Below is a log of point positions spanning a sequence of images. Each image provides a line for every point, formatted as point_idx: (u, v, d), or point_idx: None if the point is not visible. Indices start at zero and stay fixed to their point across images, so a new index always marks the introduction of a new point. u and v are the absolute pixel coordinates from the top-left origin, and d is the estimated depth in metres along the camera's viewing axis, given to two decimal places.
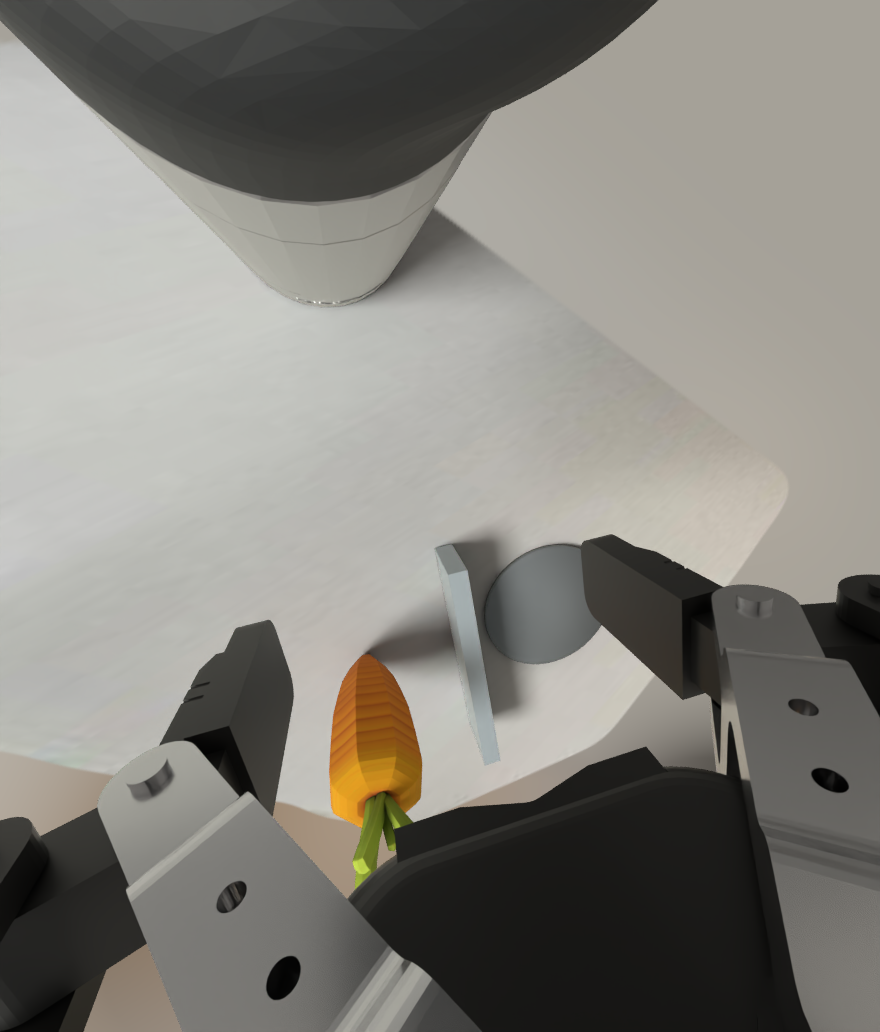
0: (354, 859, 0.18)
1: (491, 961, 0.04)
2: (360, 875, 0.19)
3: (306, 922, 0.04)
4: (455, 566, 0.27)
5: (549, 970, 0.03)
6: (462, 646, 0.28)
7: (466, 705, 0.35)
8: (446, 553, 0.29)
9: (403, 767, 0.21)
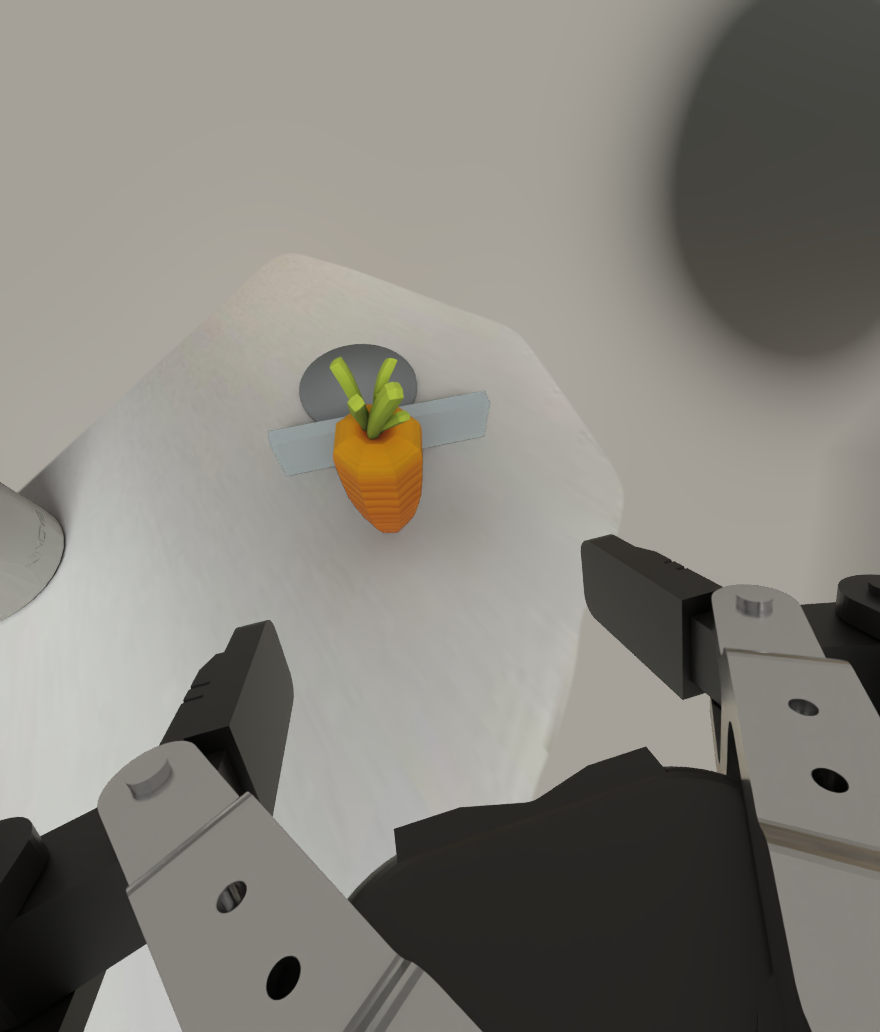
0: (356, 411, 0.19)
1: (491, 961, 0.04)
2: (378, 406, 0.19)
3: (306, 922, 0.04)
4: None
5: (550, 971, 0.03)
6: None
7: (459, 439, 0.36)
8: None
9: (346, 416, 0.23)
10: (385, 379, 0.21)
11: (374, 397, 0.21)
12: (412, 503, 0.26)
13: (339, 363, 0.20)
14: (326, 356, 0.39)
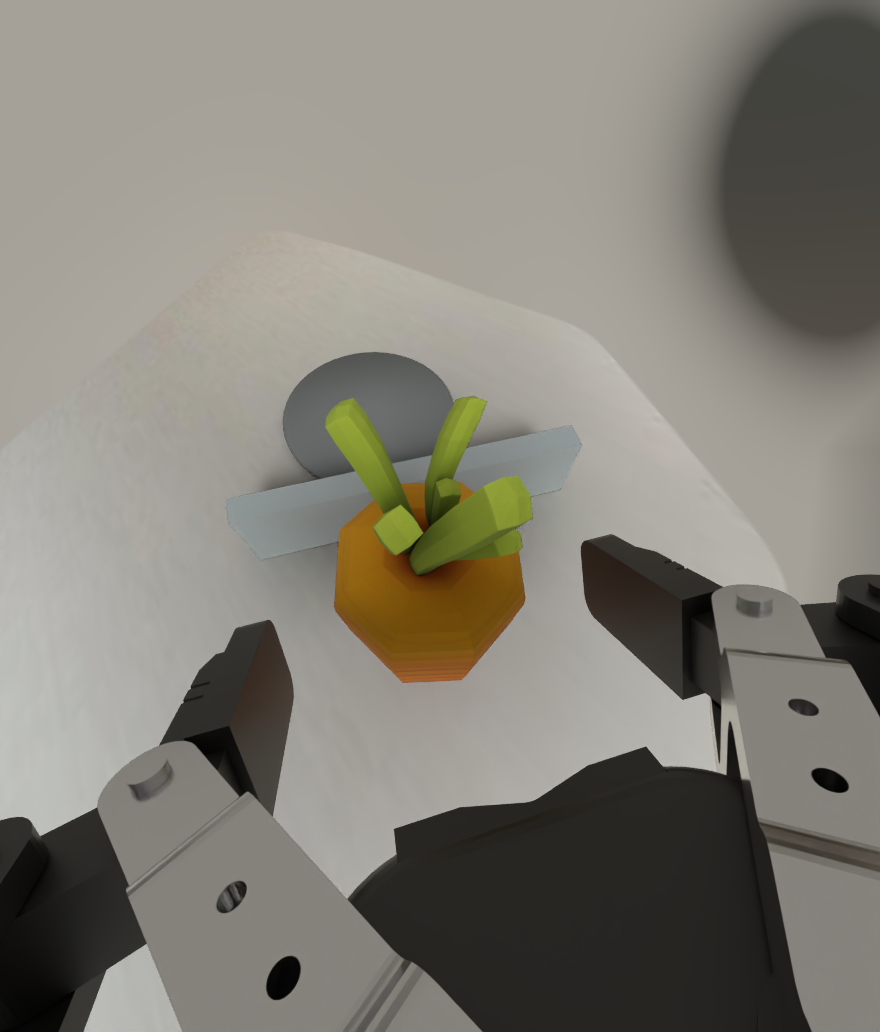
0: (399, 552, 0.07)
1: (491, 961, 0.04)
2: (457, 535, 0.07)
3: (306, 922, 0.04)
4: None
5: (550, 970, 0.03)
6: (354, 494, 0.19)
7: None
8: None
9: (362, 513, 0.11)
10: (458, 447, 0.09)
11: (428, 487, 0.09)
12: None
13: (350, 417, 0.08)
14: (323, 370, 0.27)
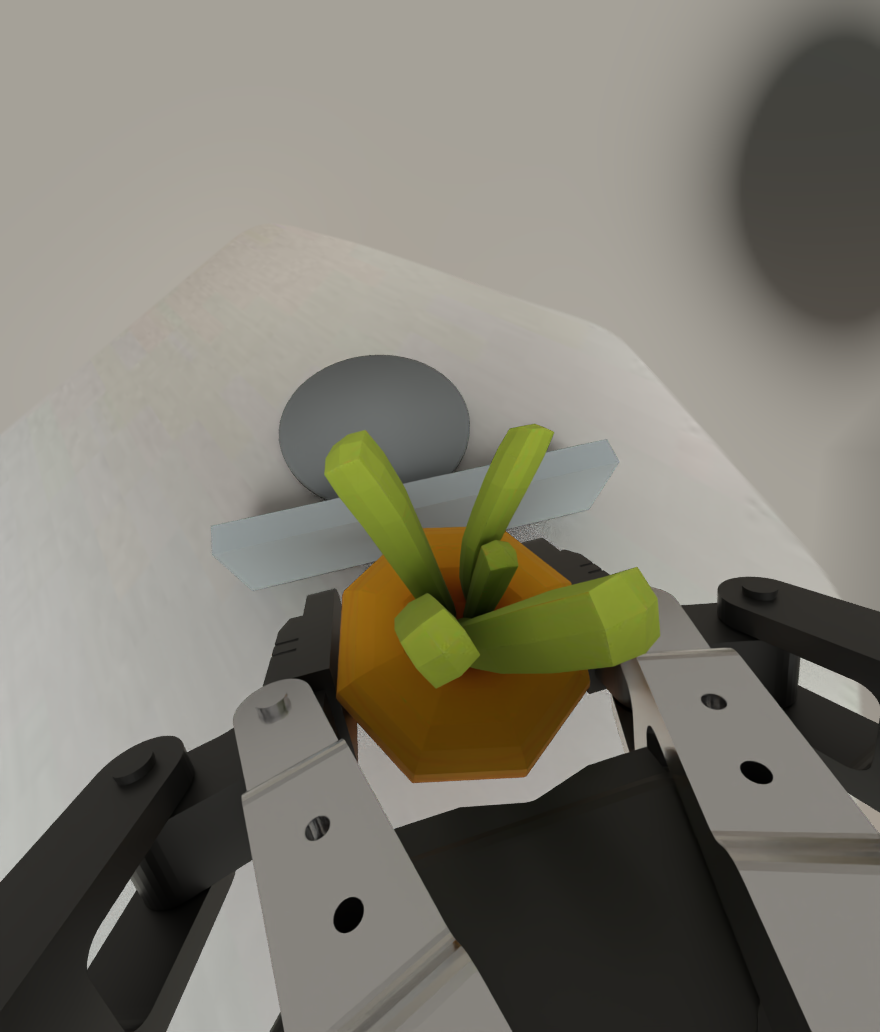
0: (440, 679, 0.04)
1: (491, 961, 0.04)
2: (530, 651, 0.05)
3: (374, 872, 0.04)
4: None
5: (550, 971, 0.03)
6: None
7: (549, 517, 0.21)
8: None
9: (373, 569, 0.08)
10: (514, 497, 0.06)
11: (468, 548, 0.07)
12: None
13: (362, 461, 0.05)
14: (323, 374, 0.25)
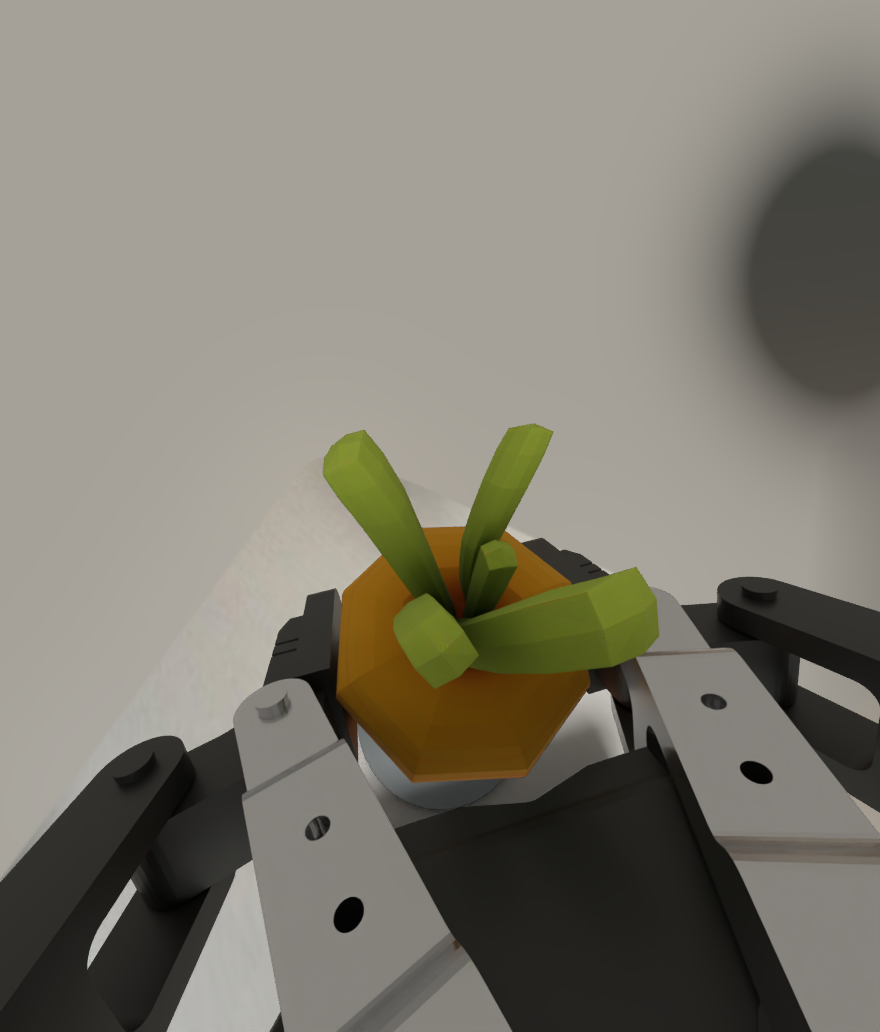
0: (439, 680, 0.04)
1: (491, 961, 0.04)
2: (529, 652, 0.05)
3: (374, 872, 0.04)
4: None
5: (551, 973, 0.03)
6: None
7: None
8: None
9: (372, 569, 0.08)
10: (513, 497, 0.06)
11: (468, 548, 0.07)
12: None
13: (360, 461, 0.05)
14: None
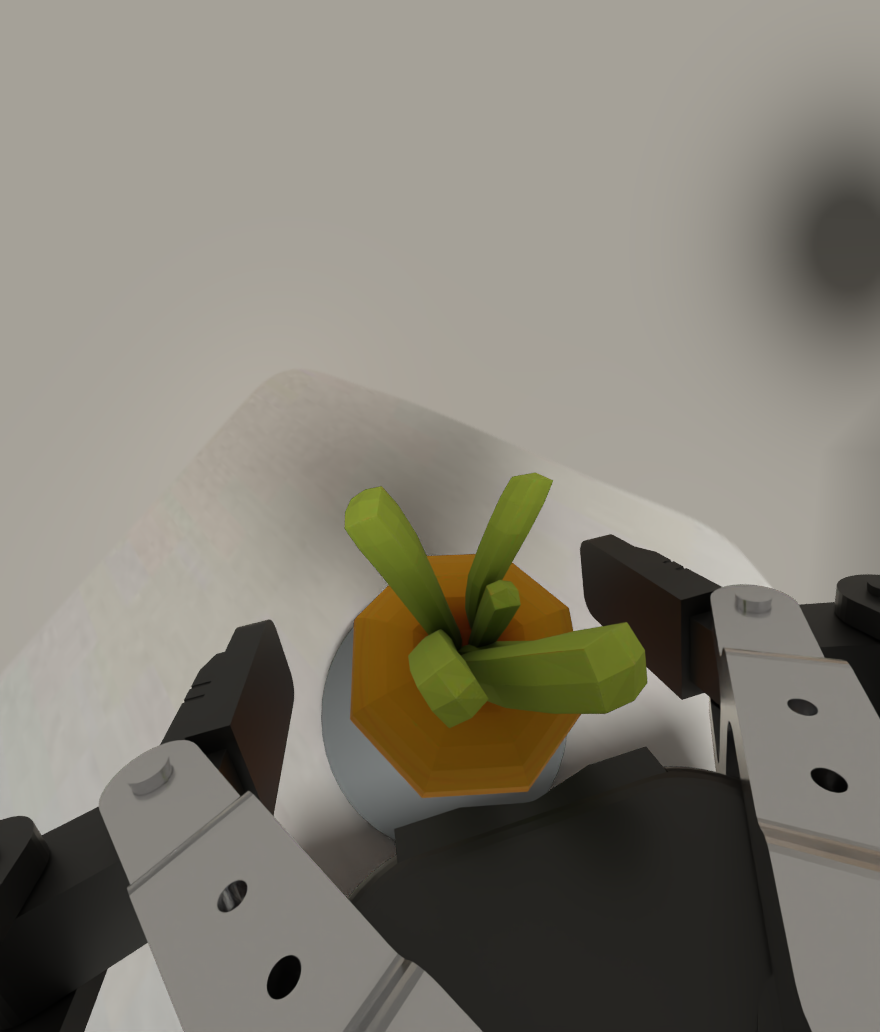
0: (453, 719, 0.05)
1: (491, 961, 0.04)
2: (533, 693, 0.05)
3: (307, 921, 0.04)
4: None
5: (551, 971, 0.03)
6: None
7: None
8: None
9: (383, 597, 0.09)
10: (516, 540, 0.07)
11: (474, 585, 0.07)
12: None
13: (379, 518, 0.06)
14: None
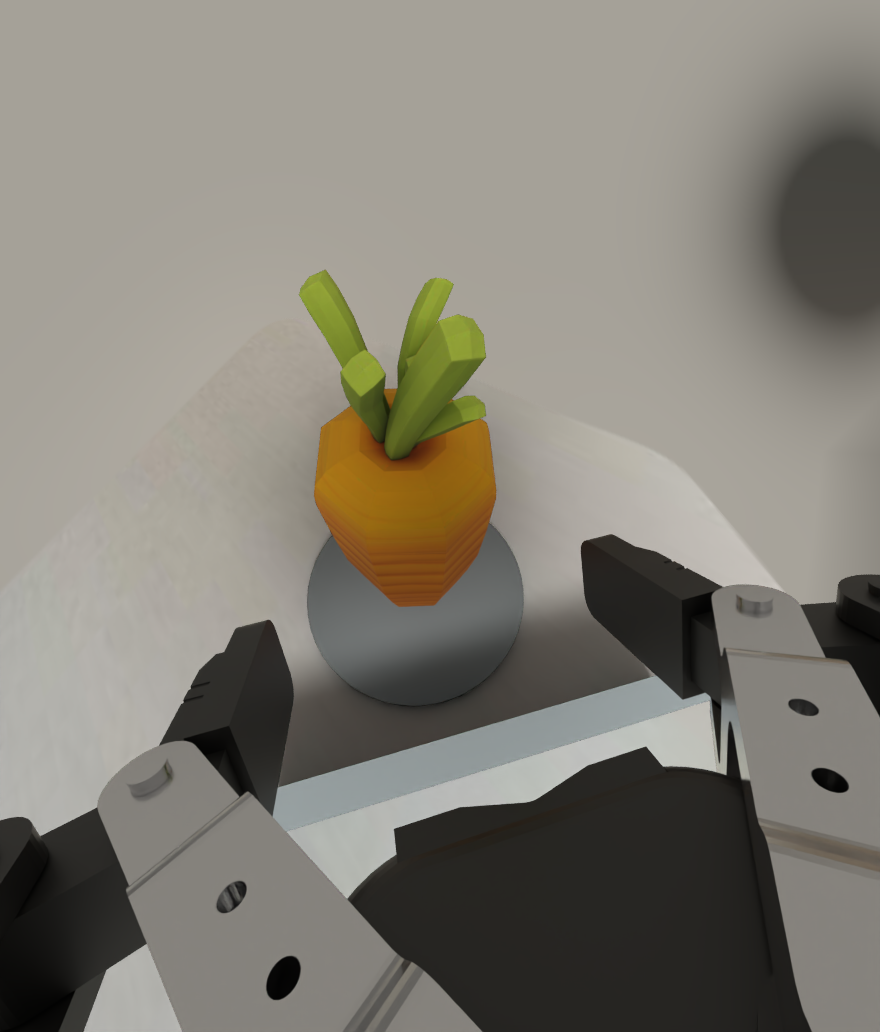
0: (364, 397, 0.08)
1: (491, 961, 0.04)
2: (418, 382, 0.08)
3: (307, 922, 0.04)
4: None
5: (550, 971, 0.03)
6: (415, 789, 0.14)
7: None
8: None
9: (342, 412, 0.11)
10: (427, 326, 0.09)
11: (400, 369, 0.10)
12: (463, 570, 0.14)
13: (322, 283, 0.08)
14: None
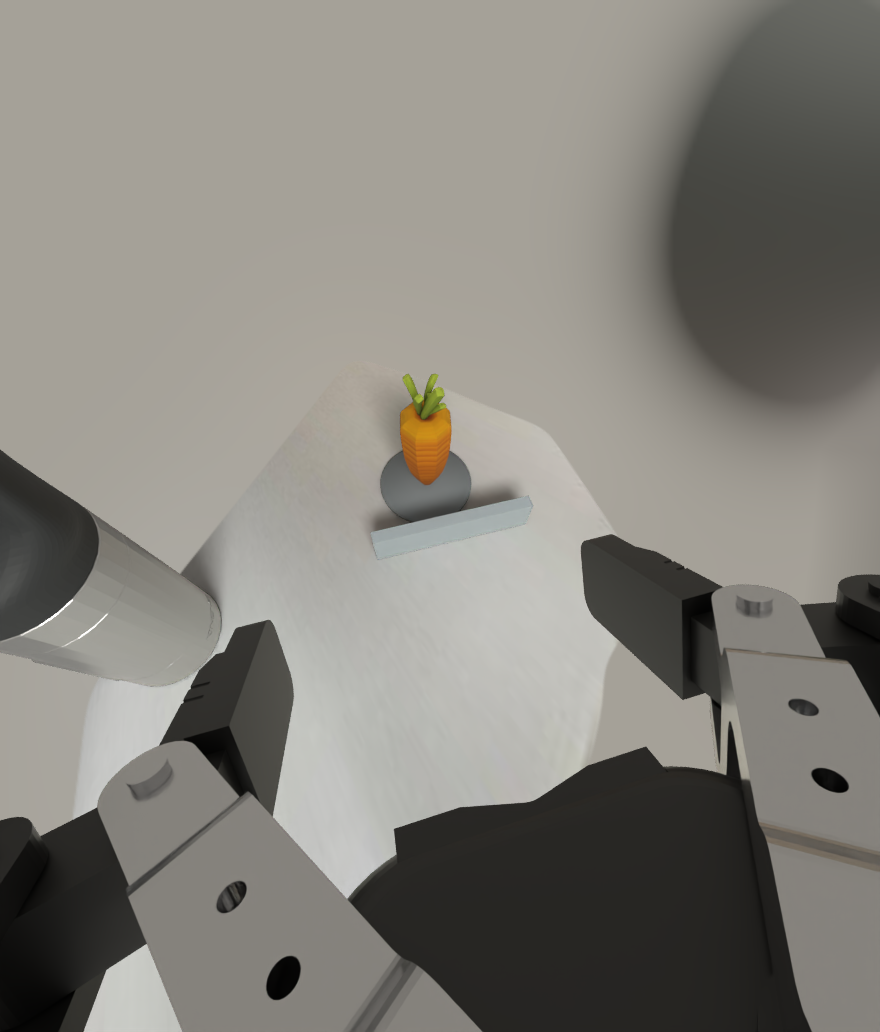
0: (419, 403, 0.36)
1: (491, 961, 0.04)
2: (430, 400, 0.36)
3: (306, 922, 0.04)
4: None
5: (550, 970, 0.03)
6: (427, 530, 0.42)
7: (507, 527, 0.46)
8: None
9: (407, 407, 0.40)
10: (432, 385, 0.37)
11: (425, 396, 0.38)
12: (443, 460, 0.43)
13: (408, 377, 0.36)
14: (399, 456, 0.50)
